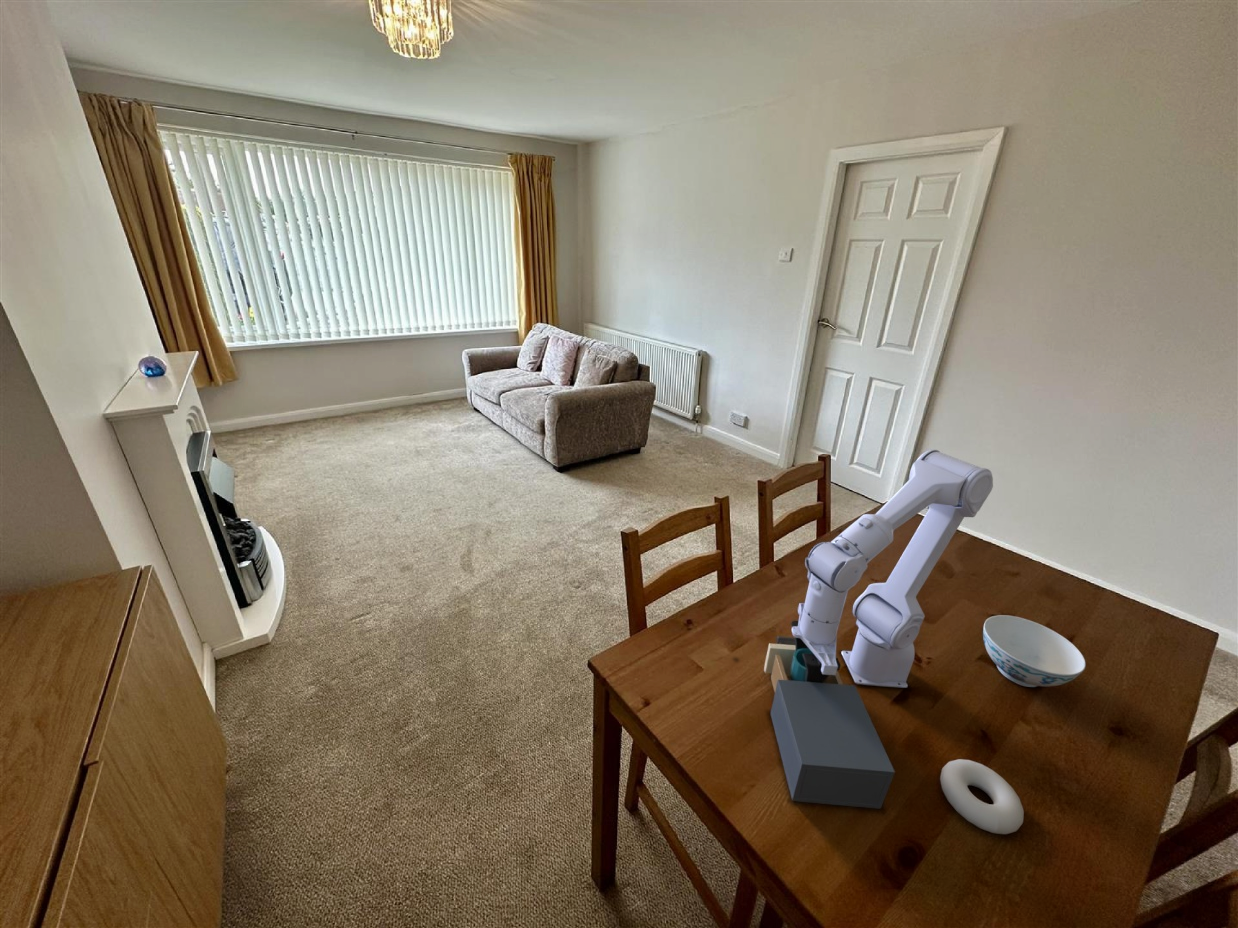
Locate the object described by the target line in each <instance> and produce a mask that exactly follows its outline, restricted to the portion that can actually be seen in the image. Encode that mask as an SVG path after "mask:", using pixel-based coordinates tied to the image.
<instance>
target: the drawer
mask: <svg viewBox="0 0 1238 928" xmlns="http://www.w3.org/2000/svg"><path fill="white" fill-rule="evenodd" d="M775 639H776V640H775V641H776V643H770V642H769V643H768V646H767V652H766V656H765V661H764V667H763V671H764V674H769V675H770V681H771V684H772V688H773V692H774V693H775V691H776V686H777V681H778V680H791V679H790V669H791V665H792V660H793V656H794V652H795V651H796V647H795V637H794V636H793V637H792V636H781V635H779V636H778V635H777V636H776V638H775ZM838 671H839V670H838ZM838 671H836V675H829V676H828V677H827V678H826V679H825V681H824V682H823V683H830V684H843V685H844V683H843V681H842V679H841V676H840V673H839V672H838Z"/></svg>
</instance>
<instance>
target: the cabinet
mask: <svg viewBox="0 0 1238 928" xmlns="http://www.w3.org/2000/svg"><path fill="white" fill-rule="evenodd" d="M770 717H771V721H772V726H773V728H774V733H775V738H776V742H777V746H778V749H779V754H780V757H781V761H782V762H781V763H782V765H783V771H784V775H785V778H786V782H787V786H788V790H789V794H790V798H791V801H792V802H798V803H799V802H801V803H811V804H823V805H833V806H845V807H854V808H855V807H856V808H865V809H875V810H876V809H878V810H881V809H882V806H883V804H884V801H885V799H886V796H887V794H888V792H889V789H890V786H891V784H892V781H893V779H894V776H895V773H896V771H895V769H894V767H893V764H892V762H891V761H890V758H889V756H888V754H887V752H886V749H885V747H884V745H883V742H882V741H881V739H880V737H879V734H878V733H877V730H876V728H875V725H874V723H873V722H872V719H871V717H870V715H869V713H868V710H867V708H866V706H865V704H864V702H863V699H862V697H861V695H860V693H859V691H858V689H857V687H856V685H855V684H854V685H853V684H844V683H843V684H830V683H817V682H804V681H791V680H778V681H777V686H776V691H775V692H774V696H773V701H772V704H771V710H770Z"/></svg>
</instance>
